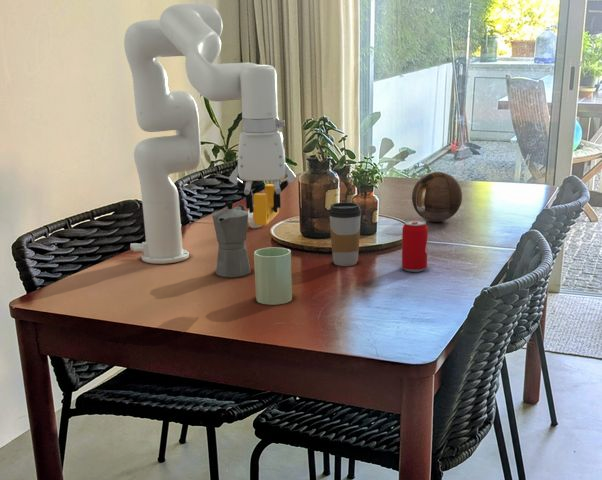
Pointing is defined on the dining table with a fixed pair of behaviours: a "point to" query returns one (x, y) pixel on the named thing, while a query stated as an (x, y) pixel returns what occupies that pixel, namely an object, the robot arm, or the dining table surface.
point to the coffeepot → (231, 241)
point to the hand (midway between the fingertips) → (263, 210)
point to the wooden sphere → (437, 196)
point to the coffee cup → (345, 232)
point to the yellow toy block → (264, 206)
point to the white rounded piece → (252, 221)
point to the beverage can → (414, 245)
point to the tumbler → (273, 275)
